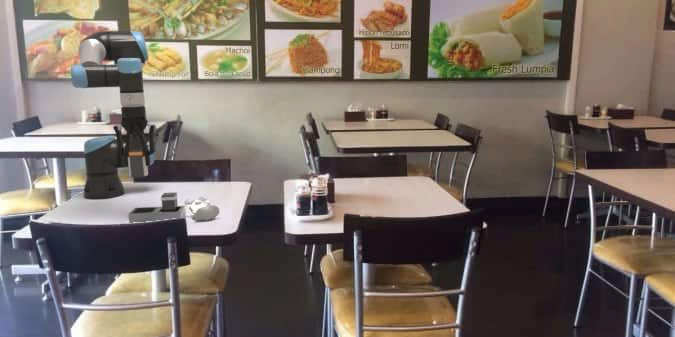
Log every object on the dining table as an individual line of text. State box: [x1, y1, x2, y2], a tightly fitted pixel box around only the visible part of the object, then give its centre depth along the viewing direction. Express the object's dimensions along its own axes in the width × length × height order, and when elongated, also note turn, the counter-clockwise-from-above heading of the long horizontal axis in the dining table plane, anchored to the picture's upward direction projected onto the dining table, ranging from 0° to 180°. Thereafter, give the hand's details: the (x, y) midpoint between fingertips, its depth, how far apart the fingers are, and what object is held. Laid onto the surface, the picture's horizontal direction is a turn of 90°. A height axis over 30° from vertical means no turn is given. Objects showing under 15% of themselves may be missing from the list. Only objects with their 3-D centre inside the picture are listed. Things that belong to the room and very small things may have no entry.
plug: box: [129, 149, 146, 179], centre depth 191 cm, size 4×4×9 cm
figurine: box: [184, 196, 220, 222], centre depth 191 cm, size 9×6×12 cm
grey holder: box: [128, 191, 187, 223], centre depth 183 cm, size 8×16×10 cm, turn 95°
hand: (138, 175), depth 192 cm, fingers closed on plug, 4 cm apart
